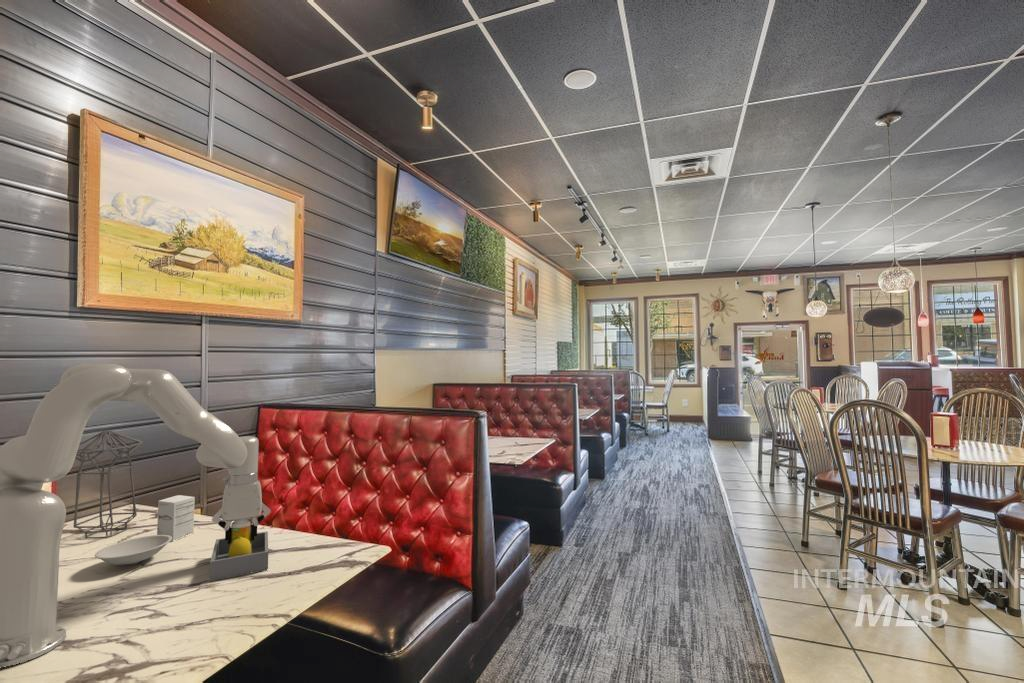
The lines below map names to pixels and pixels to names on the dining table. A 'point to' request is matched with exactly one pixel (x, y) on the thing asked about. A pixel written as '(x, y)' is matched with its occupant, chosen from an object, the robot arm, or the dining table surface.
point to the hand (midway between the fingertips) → (241, 540)
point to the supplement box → (176, 516)
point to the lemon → (240, 547)
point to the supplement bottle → (241, 529)
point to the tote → (239, 558)
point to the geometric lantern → (115, 436)
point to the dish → (133, 549)
